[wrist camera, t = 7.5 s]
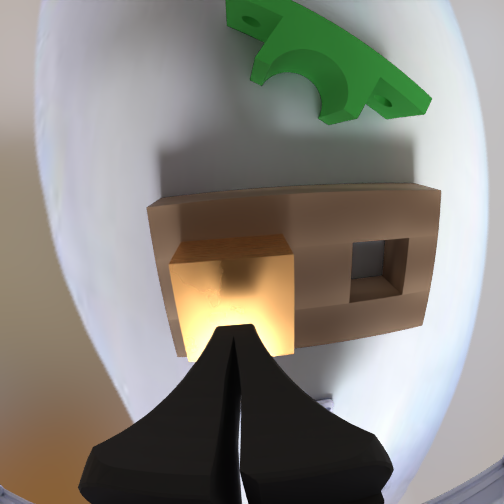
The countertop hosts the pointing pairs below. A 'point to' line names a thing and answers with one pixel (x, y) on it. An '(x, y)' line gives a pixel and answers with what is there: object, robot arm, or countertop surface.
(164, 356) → the countertop surface
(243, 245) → the orange block
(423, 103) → the pipe clamp
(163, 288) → the board
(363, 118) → the countertop surface
